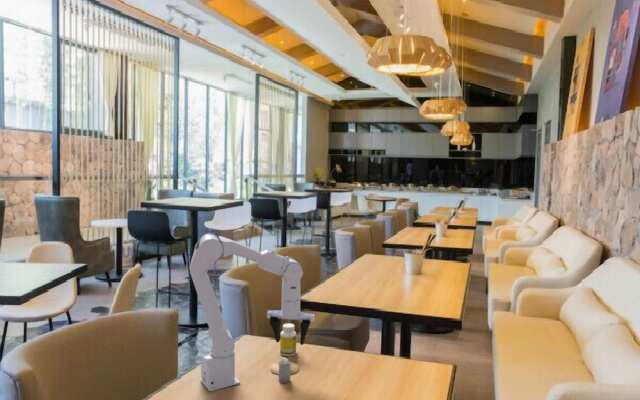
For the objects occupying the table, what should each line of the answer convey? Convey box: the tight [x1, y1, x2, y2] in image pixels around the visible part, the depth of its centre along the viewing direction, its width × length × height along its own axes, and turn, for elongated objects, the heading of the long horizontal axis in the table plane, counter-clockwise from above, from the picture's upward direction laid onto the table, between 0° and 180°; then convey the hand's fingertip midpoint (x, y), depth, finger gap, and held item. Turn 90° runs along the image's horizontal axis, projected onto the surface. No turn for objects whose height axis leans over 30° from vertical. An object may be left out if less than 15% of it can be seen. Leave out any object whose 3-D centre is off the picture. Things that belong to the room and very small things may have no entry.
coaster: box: [269, 361, 300, 376], centre depth 158 cm, size 9×9×1 cm
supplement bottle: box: [279, 323, 297, 357], centre depth 170 cm, size 5×5×10 cm
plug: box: [278, 356, 291, 384], centre depth 150 cm, size 3×3×7 cm
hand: (290, 342), depth 153 cm, fingers open, 7 cm apart
